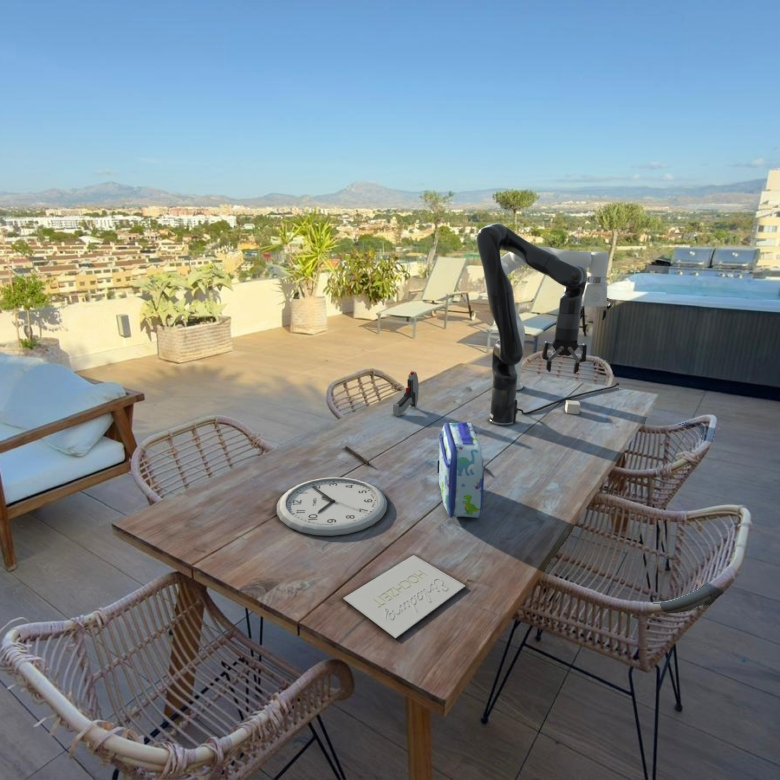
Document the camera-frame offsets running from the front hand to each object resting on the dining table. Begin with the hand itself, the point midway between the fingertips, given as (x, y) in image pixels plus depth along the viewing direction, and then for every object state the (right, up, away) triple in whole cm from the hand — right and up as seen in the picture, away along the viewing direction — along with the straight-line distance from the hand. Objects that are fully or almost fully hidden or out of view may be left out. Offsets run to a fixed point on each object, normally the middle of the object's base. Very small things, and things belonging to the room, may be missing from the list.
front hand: (561, 372), depth 181 cm
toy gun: (-53, -15, +35) cm, 65 cm away
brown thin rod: (-71, -28, -8) cm, 77 cm away
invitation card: (-56, -49, -72) cm, 104 cm away
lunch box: (-41, -37, -35) cm, 65 cm away
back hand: (+31, +26, +55) cm, 68 cm away
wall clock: (-75, -38, -38) cm, 93 cm away
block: (+17, -15, +38) cm, 45 cm away
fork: (-32, -30, -12) cm, 45 cm away
